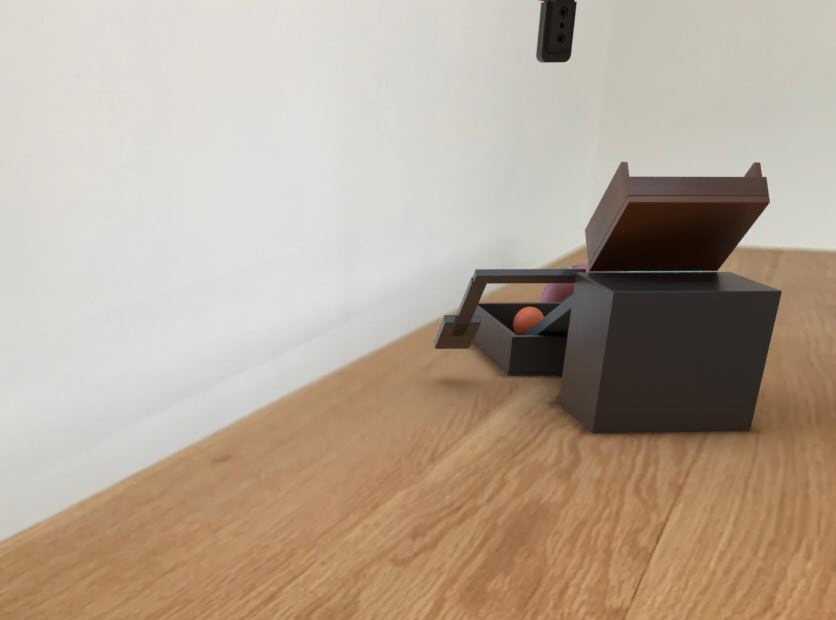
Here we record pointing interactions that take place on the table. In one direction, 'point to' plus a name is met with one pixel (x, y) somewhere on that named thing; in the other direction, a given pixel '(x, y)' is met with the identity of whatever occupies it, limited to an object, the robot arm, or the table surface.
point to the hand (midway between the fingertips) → (552, 62)
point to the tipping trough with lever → (639, 235)
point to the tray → (518, 341)
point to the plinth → (666, 351)
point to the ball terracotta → (526, 319)
